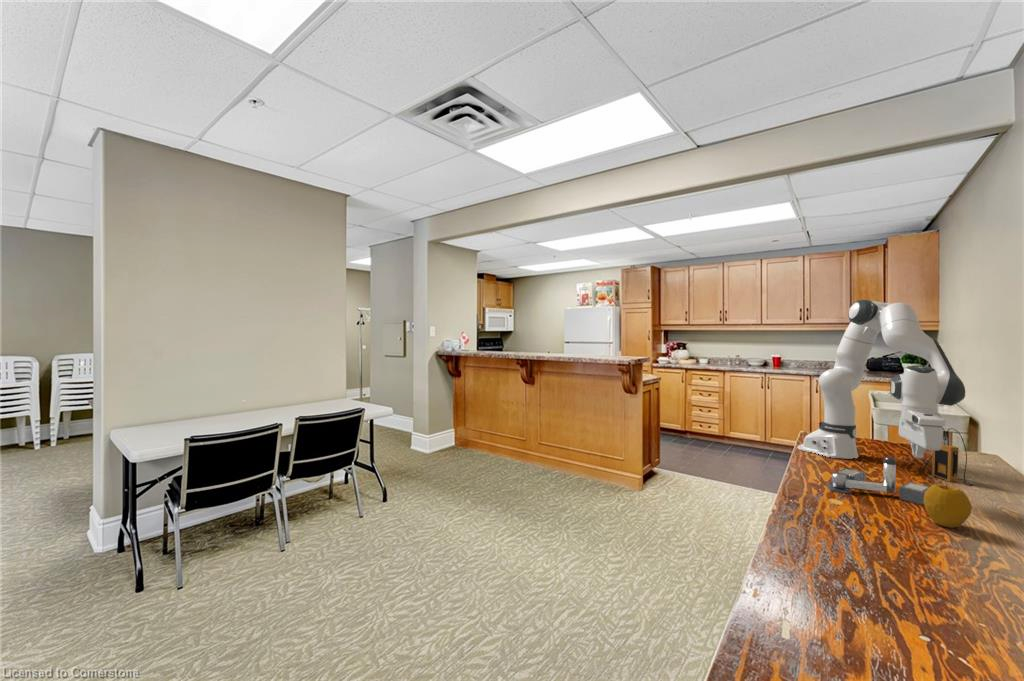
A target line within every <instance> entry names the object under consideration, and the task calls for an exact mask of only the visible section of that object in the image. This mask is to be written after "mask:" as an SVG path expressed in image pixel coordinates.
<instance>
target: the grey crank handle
mask: <svg viewBox="0 0 1024 681" xmlns="http://www.w3.org/2000/svg"><path fill="white" fill-rule="evenodd" d="M882 462H883V464H882V465H883V467H882V468H883V471H882V473H883V474H882V483H879V482H870V481H866V482H864V481H855V480H847V479H846V475H844V474H840V473H835V472H832V473H831V484H832V486H834V487H838V488H846V487H848V488H849V489H851V488H852V489H860V490H867V491H876V492H883V493H884V492H885V493H889V494H895V493H896V484H897V483H896V482H897V481H896V480H897V477H896V476H897V474H896V473H897V460H896V459H895V457H892V456H886V457H884V458H883V459H882Z"/></svg>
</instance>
